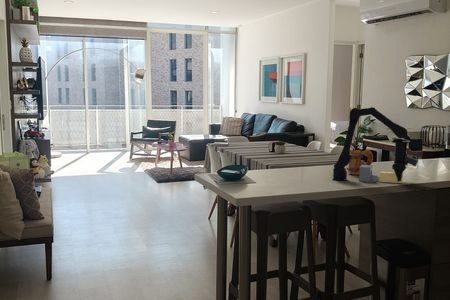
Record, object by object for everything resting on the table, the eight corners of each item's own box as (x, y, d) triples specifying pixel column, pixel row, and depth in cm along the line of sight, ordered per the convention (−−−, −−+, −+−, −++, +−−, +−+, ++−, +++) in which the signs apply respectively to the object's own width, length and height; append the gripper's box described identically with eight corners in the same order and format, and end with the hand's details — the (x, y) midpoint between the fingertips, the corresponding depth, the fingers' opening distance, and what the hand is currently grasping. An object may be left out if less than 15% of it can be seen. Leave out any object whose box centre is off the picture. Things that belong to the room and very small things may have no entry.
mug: (344, 174, 258) (345, 149, 256) (348, 172, 265) (348, 147, 263) (370, 176, 251) (371, 150, 249) (373, 174, 258) (374, 148, 256)
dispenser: (359, 181, 238) (359, 166, 237) (361, 178, 245) (362, 164, 244) (375, 182, 234) (376, 167, 233) (377, 179, 241) (378, 165, 240)
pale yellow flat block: (379, 181, 236) (380, 172, 235) (380, 180, 238) (380, 171, 237) (402, 183, 231) (402, 173, 230) (402, 182, 233) (402, 172, 232)
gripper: (416, 153, 219) (415, 184, 220) (418, 149, 235) (417, 178, 237) (392, 152, 224) (391, 183, 225) (396, 149, 240) (395, 177, 242)
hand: (399, 180), depth 232 cm, fingers closed on pale yellow flat block, 2 cm apart
